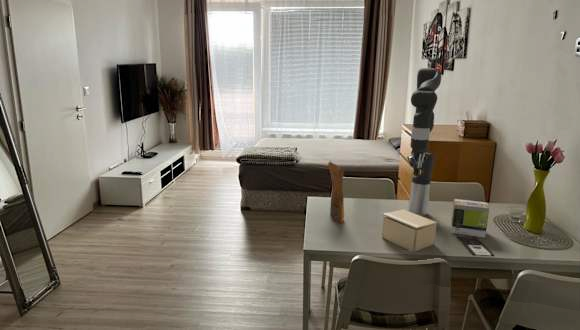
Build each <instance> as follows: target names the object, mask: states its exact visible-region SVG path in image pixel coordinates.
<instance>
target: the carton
mask: <svg viewBox="0 0 580 330" xmlns="http://www.w3.org/2000/svg"><path fill="white" fill-rule="evenodd" d="M382 222H383V223H382V229H381V231H382V233H381V238H382V239H384V240H387V241H389V242H391V243H393V244H395V245H397V246H399V247H402V248H404V249H405V250H408V251H410V252H411V253H416V252H419V251H422V250H425V249H427V248H429V247H431V246H434V245H435V241H436V233H437V232H436V231H437V224H438V223H437V224H433V225H430V226H426V227H422V228H418V229H415V228H413V227H410V226H408V225H406V224H403V223H401V222H398V221H396V220H393V219H391V218H389V217H386V216H383V221H382Z"/></svg>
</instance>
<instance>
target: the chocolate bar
mask: <svg viewBox="0 0 580 330" xmlns="http://www.w3.org/2000/svg"><path fill="white" fill-rule="evenodd" d="M456 238H457V239H458V240H459V242H460V241H461V242H462V243H461V242H460V243H461V244H462V245H463V246H464V248H465V249H466V250H469V251H468V252H469V253H470V254H471V255H472V256H481V255H489V256H490V257H494V256H495V254H494V253H493V252H492V251H491V250H490V249H489V248H488V247H487V246H486V244H484V243H483V242H482V241H481V240H480V239H479V237H476V236H462V235H461V236H456Z"/></svg>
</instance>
